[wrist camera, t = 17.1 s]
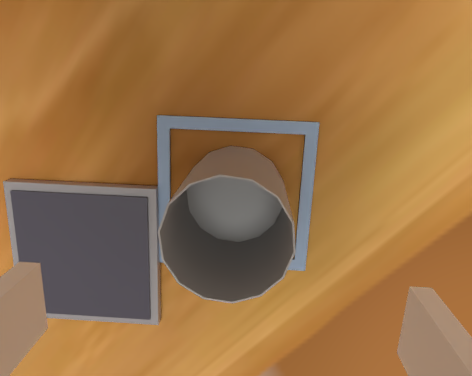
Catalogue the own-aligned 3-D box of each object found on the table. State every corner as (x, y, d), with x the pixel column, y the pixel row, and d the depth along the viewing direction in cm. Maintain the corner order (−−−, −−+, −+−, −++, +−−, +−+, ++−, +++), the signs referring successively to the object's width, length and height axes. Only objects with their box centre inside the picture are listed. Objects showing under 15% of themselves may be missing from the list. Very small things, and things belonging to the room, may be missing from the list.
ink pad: (10, 178, 34) (0, 182, 33) (158, 186, 33) (155, 190, 32) (26, 309, 37) (18, 317, 36) (160, 318, 37) (157, 327, 36)
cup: (204, 250, 35) (184, 315, 25) (172, 163, 33) (137, 199, 23) (296, 224, 34) (312, 283, 24) (269, 133, 32) (274, 157, 22)
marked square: (157, 114, 32) (156, 115, 31) (318, 122, 31) (319, 122, 31) (160, 260, 35) (159, 262, 35) (304, 269, 35) (305, 270, 34)
